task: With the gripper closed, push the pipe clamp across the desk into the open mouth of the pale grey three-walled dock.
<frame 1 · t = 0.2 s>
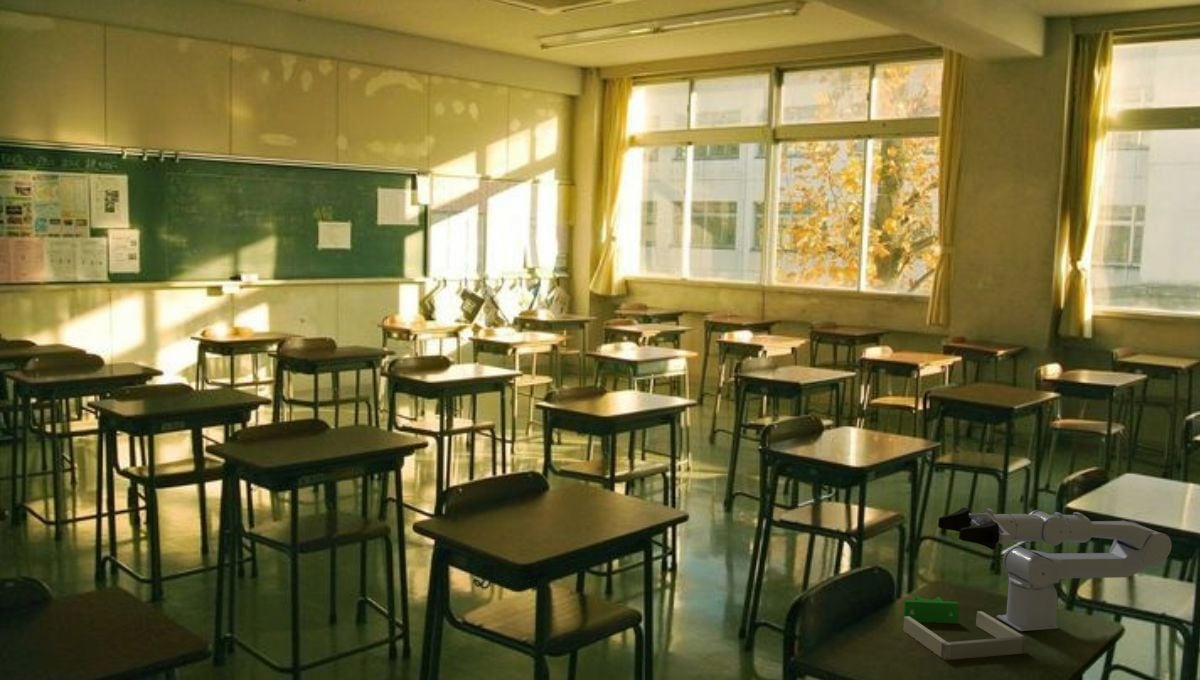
hand: (949, 528, 209), 21 cm above the table, tool horizontal, fingers open, 7 cm apart
docking bay: (945, 629, 211), on the table
pipe clamp: (929, 620, 216), on the table
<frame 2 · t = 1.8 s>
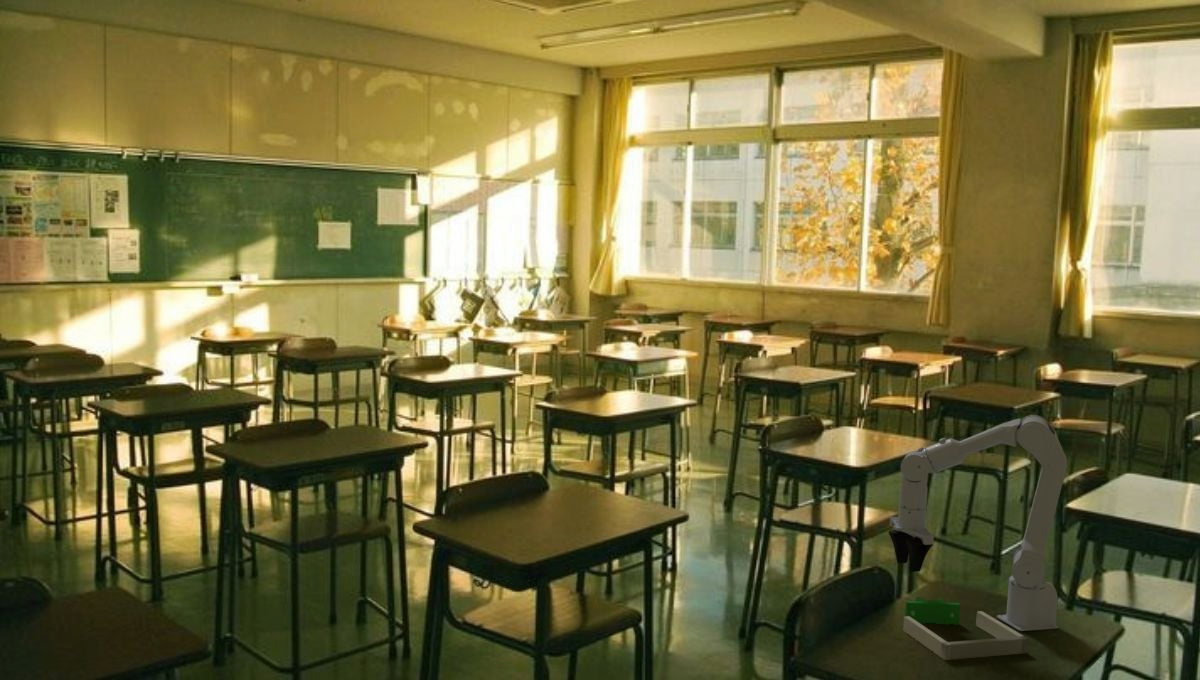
hand: (908, 566, 224), 8 cm above the table, tool pointing down, fingers open, 5 cm apart
nothing on the table moved.
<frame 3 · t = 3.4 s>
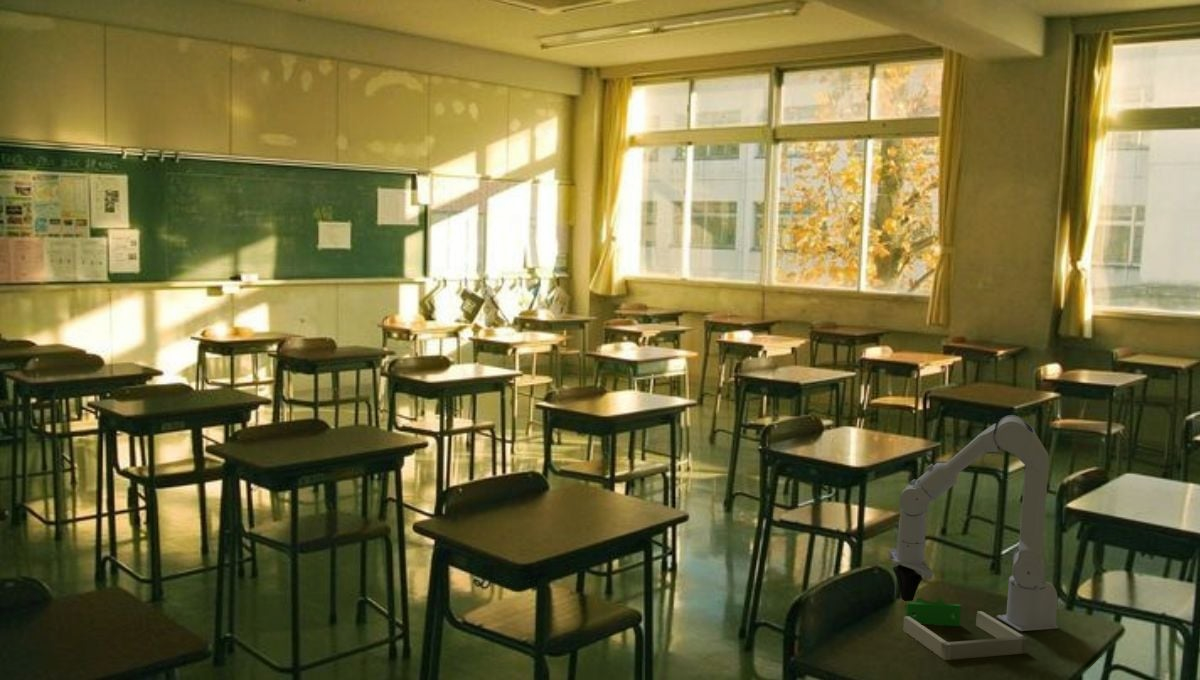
hand: (907, 599, 225), 1 cm above the table, tool pointing down, fingers closed
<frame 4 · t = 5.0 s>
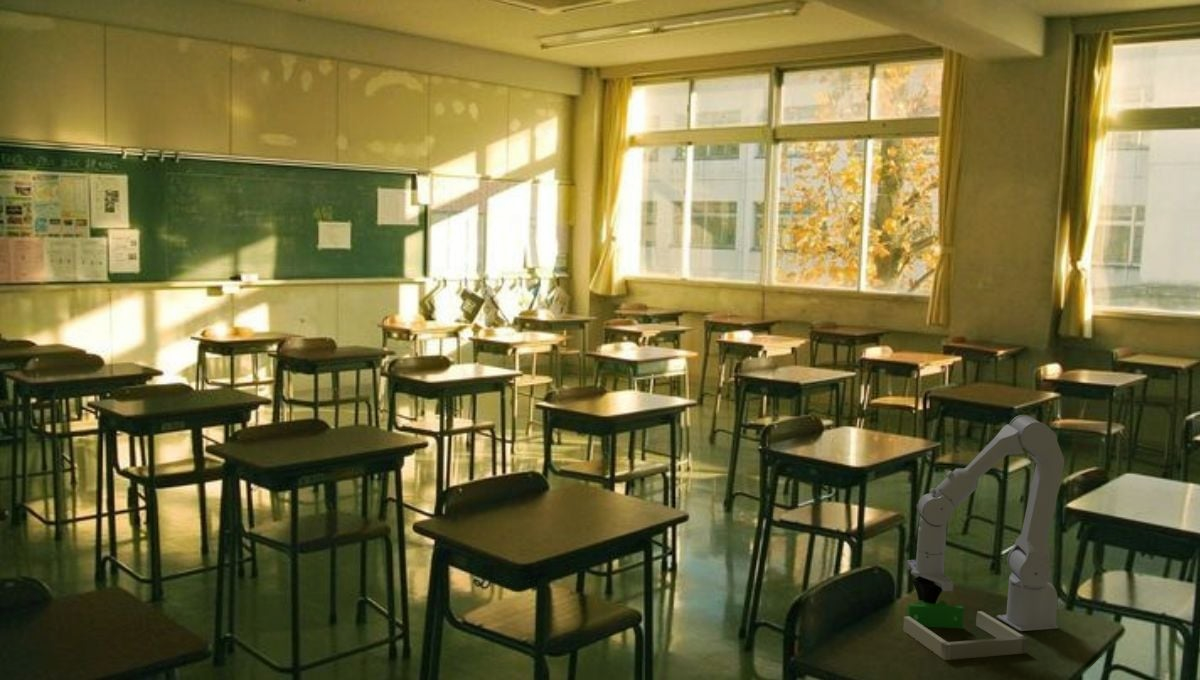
hand: (926, 612, 218), 1 cm above the table, tool pointing down, fingers closed
pipe clamp: (933, 625, 214), on the table
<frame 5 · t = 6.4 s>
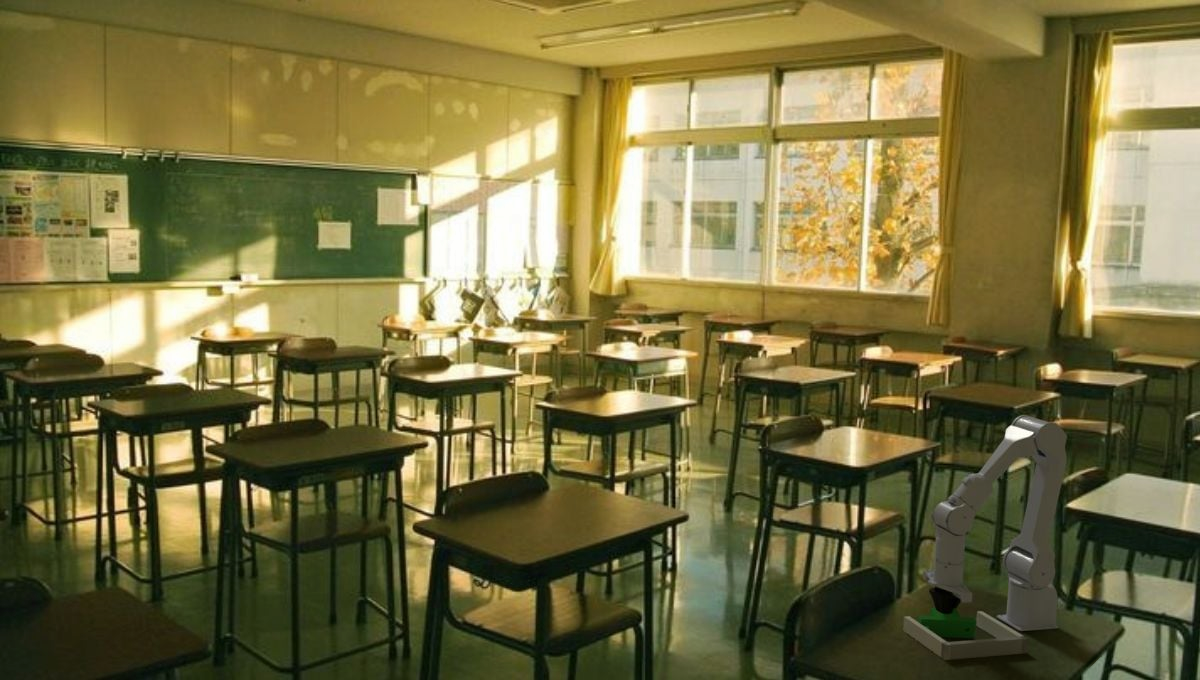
hand: (944, 624, 211), 1 cm above the table, tool pointing down, fingers closed
pipe clamp: (943, 632, 209), on the table
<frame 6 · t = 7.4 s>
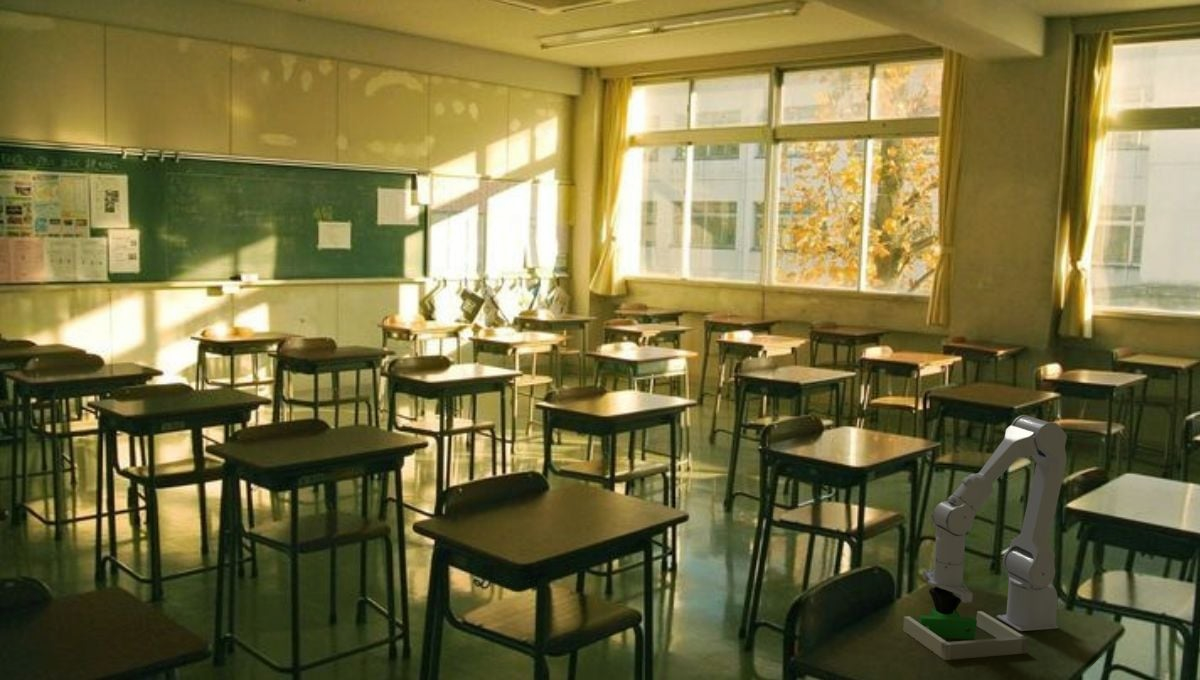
hand: (944, 624, 211), 1 cm above the table, tool pointing down, fingers closed
pipe clamp: (944, 634, 208), on the table, touching gripper
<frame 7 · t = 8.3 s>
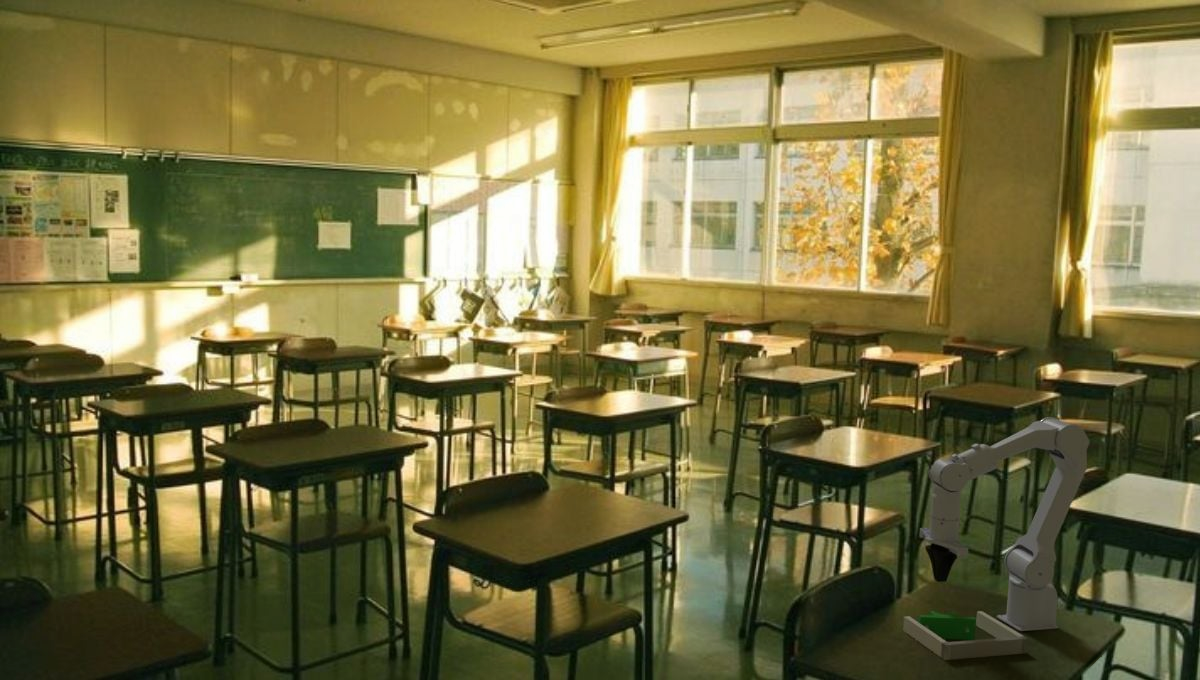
hand: (940, 580, 213), 9 cm above the table, tool pointing down, fingers closed
pipe clamp: (944, 637, 208), on the table
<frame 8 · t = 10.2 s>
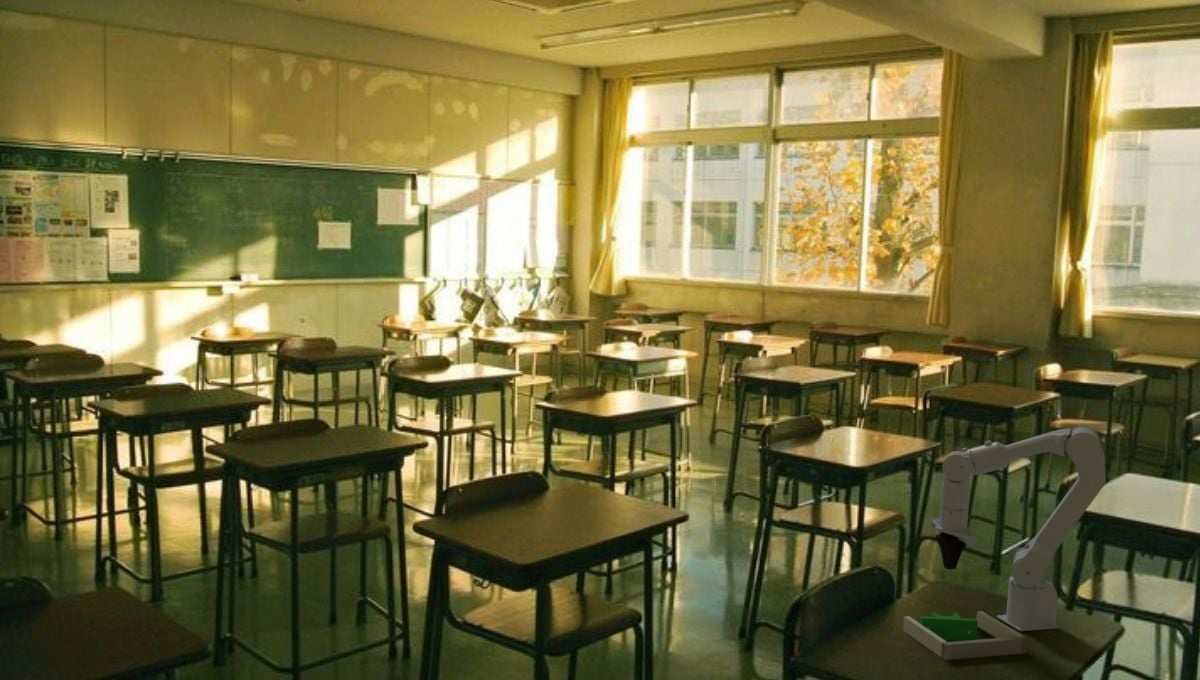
hand: (949, 568, 221), 9 cm above the table, tool pointing down, fingers closed
nothing on the table moved.
at the end: pipe clamp inside the target area on the docking bay (3.5 cm from its centre), point 0.0 cm above the docking bay's base; pipe clamp moved 9.7 cm from its start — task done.
